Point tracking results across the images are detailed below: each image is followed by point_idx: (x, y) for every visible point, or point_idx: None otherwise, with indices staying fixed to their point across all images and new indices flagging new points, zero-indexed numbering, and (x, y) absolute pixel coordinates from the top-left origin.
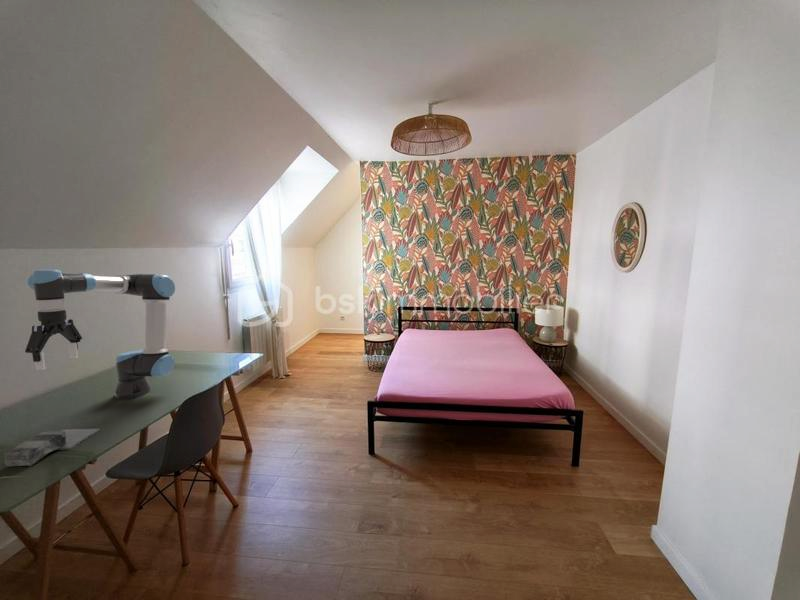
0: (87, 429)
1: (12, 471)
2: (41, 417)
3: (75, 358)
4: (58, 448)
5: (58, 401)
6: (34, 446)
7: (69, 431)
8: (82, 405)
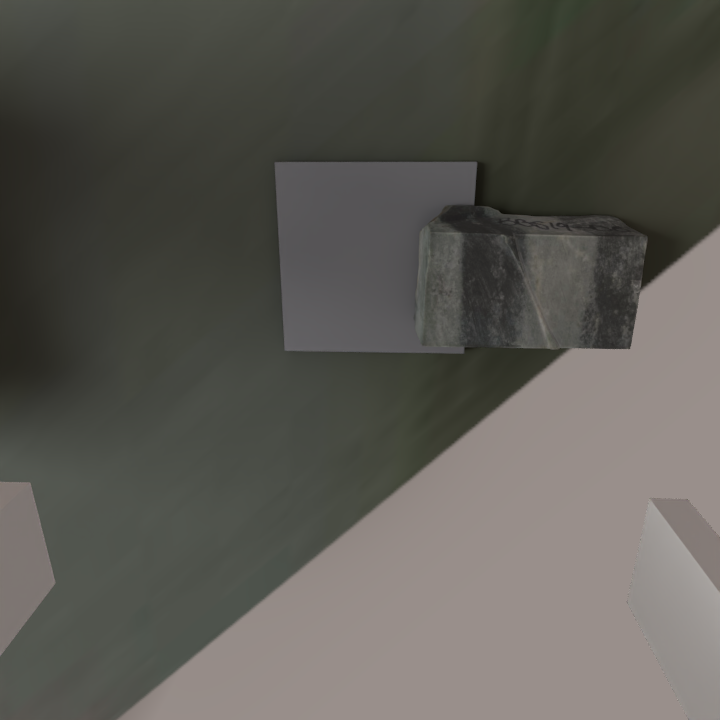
0: (284, 227)
1: None
2: (160, 555)
3: (34, 500)
4: None
5: None
6: (581, 260)
7: (305, 307)
8: None
